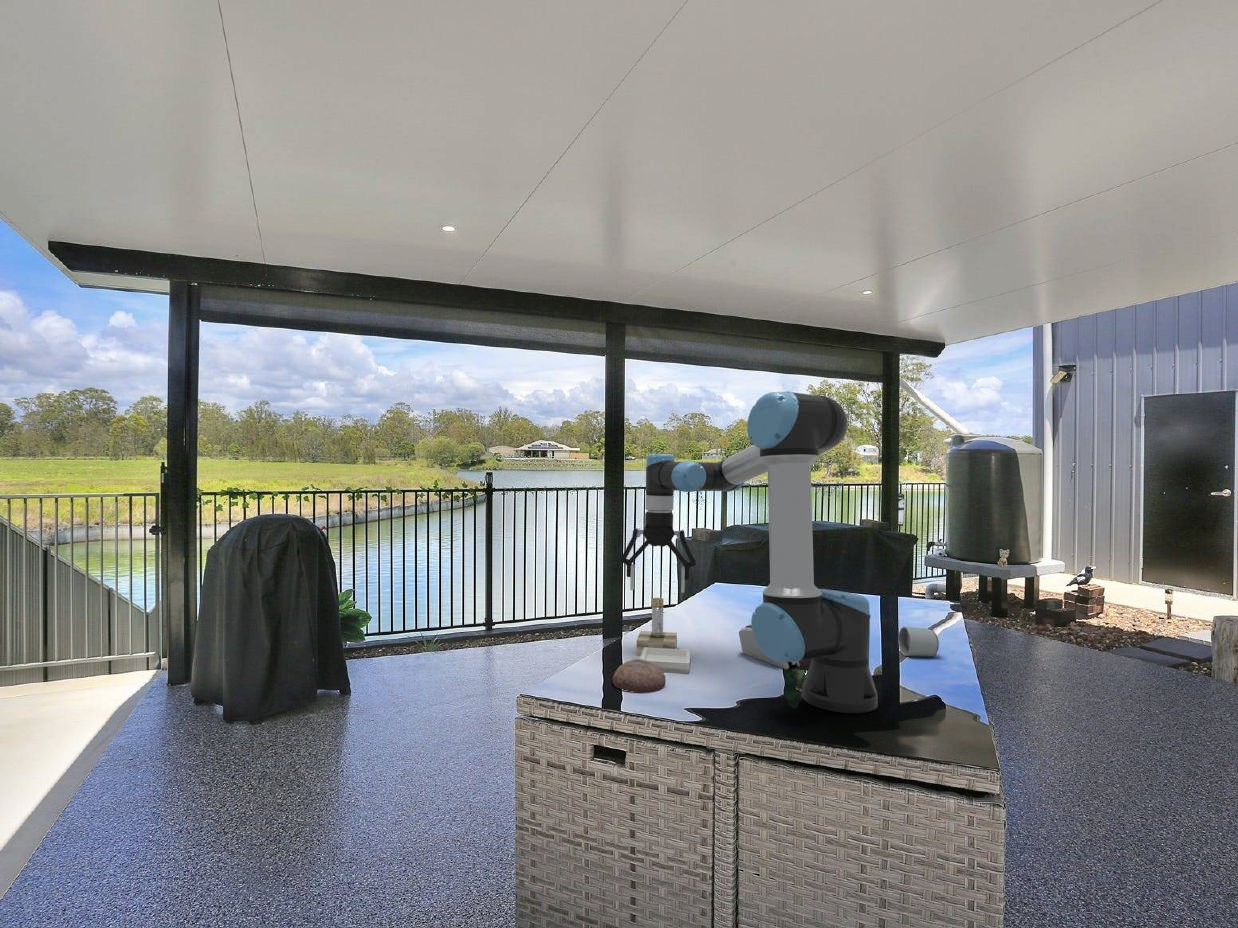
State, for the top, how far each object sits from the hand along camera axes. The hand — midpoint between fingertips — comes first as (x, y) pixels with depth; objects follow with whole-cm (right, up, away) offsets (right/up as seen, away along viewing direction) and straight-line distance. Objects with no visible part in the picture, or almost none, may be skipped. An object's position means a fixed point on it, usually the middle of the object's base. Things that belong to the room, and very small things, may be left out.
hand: (657, 590), depth 175 cm
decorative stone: (-6, -16, -28) cm, 33 cm away
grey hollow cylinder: (+70, -18, +1) cm, 72 cm away
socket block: (0, -16, 0) cm, 16 cm away
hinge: (+28, -17, -7) cm, 33 cm away
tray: (+1, -16, -13) cm, 21 cm away
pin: (0, -16, 0) cm, 16 cm away
